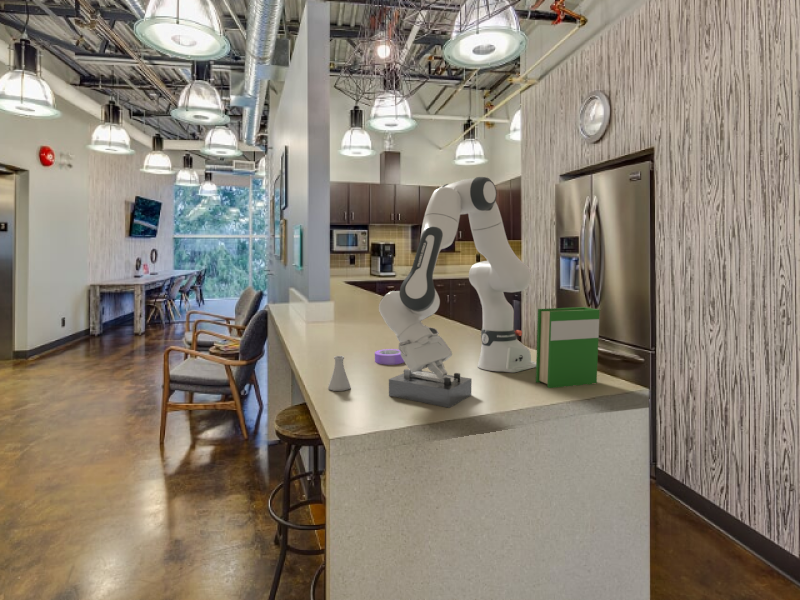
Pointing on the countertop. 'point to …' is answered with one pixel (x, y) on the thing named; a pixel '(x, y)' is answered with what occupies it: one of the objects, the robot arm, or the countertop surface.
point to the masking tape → (388, 356)
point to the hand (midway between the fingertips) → (443, 376)
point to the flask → (339, 376)
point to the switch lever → (431, 376)
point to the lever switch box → (430, 389)
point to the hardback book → (567, 346)
